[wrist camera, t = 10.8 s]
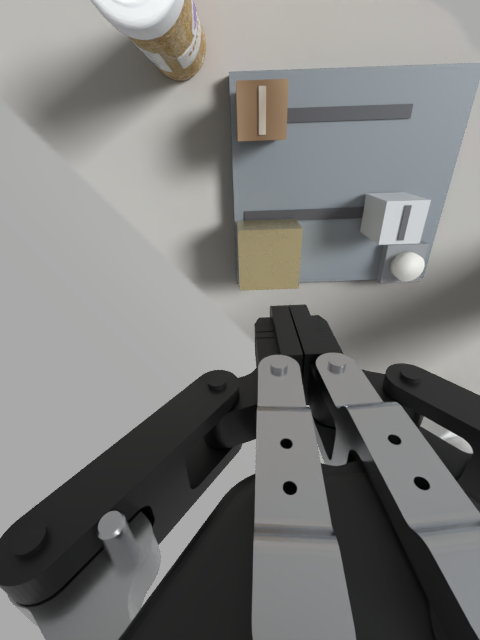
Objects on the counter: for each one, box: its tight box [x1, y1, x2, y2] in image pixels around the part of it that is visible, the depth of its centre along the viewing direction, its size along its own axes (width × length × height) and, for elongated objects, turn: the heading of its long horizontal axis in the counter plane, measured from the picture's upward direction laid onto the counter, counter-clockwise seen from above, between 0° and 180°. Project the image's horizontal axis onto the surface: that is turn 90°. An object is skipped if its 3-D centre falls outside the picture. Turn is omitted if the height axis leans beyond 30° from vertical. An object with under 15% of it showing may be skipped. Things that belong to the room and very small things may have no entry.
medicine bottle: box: [421, 417, 473, 454], centre depth 39 cm, size 7×7×12 cm
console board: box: [229, 63, 480, 284], centre depth 28 cm, size 20×18×5 cm
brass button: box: [237, 219, 303, 290], centre depth 29 cm, size 6×6×4 cm
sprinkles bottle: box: [91, 0, 206, 80], centre depth 18 cm, size 5×5×14 cm
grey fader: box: [360, 192, 431, 245], centre depth 27 cm, size 4×4×5 cm
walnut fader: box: [236, 79, 289, 142], centre depth 23 cm, size 4×4×5 cm
